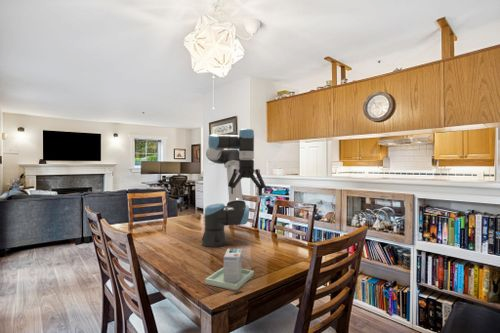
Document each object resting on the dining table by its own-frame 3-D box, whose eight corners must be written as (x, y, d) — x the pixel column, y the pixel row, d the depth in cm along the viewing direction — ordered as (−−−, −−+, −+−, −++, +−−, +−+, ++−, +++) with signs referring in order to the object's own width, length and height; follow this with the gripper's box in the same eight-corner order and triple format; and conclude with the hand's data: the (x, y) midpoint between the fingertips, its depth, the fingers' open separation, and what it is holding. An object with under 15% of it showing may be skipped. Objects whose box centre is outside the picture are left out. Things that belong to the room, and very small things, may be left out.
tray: (205, 283, 109) (205, 278, 109) (225, 269, 124) (225, 265, 124) (236, 290, 103) (236, 285, 103) (254, 275, 118) (254, 270, 118)
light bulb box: (226, 272, 119) (226, 248, 119) (242, 273, 119) (242, 248, 119) (222, 283, 109) (223, 256, 108) (240, 283, 108) (240, 256, 108)
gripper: (221, 159, 142) (221, 200, 142) (266, 159, 131) (266, 203, 132) (228, 159, 149) (228, 199, 149) (272, 159, 138) (271, 201, 138)
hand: (246, 201), depth 140 cm, fingers open, 13 cm apart
